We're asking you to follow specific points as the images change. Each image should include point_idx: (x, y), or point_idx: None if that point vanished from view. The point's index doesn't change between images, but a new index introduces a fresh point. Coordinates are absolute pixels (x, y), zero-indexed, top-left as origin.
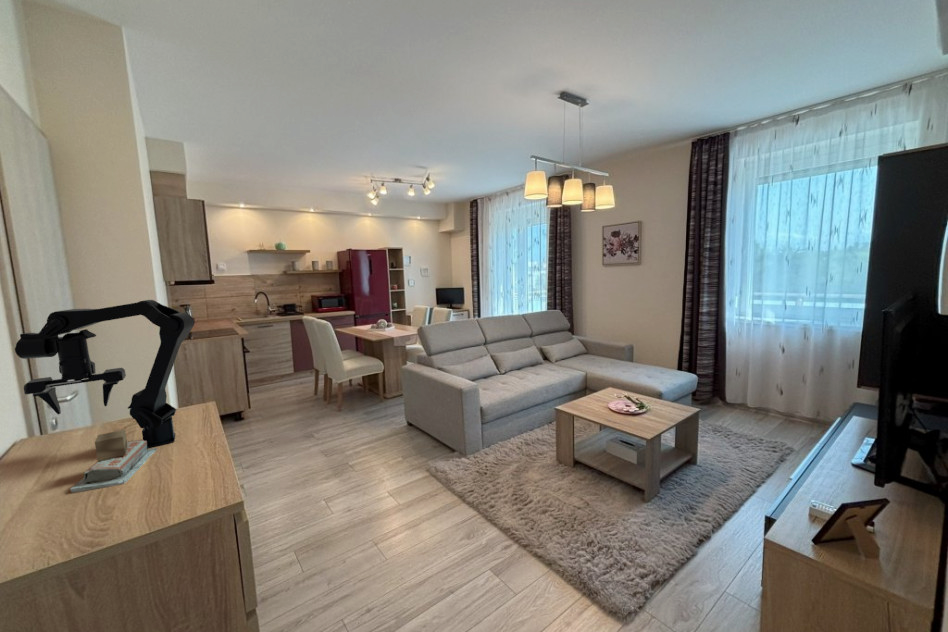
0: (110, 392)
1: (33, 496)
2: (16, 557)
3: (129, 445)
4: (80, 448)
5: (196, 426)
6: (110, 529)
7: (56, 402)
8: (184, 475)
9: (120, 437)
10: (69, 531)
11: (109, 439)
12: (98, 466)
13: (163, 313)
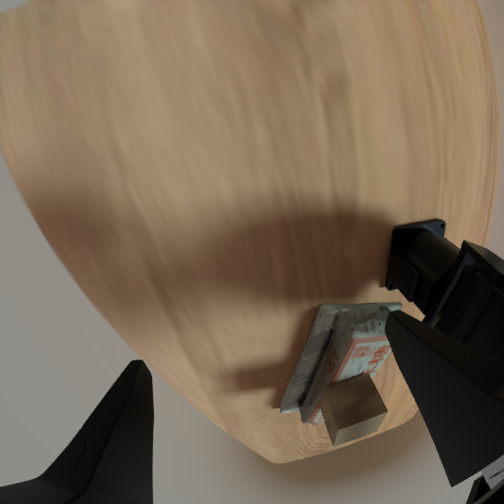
0: (473, 354)
1: (223, 403)
2: (270, 457)
3: (371, 359)
4: (193, 180)
5: (476, 182)
6: (331, 443)
7: (136, 455)
8: (402, 389)
9: (373, 431)
10: (300, 445)
11: (356, 438)
12: (322, 417)
13: None
